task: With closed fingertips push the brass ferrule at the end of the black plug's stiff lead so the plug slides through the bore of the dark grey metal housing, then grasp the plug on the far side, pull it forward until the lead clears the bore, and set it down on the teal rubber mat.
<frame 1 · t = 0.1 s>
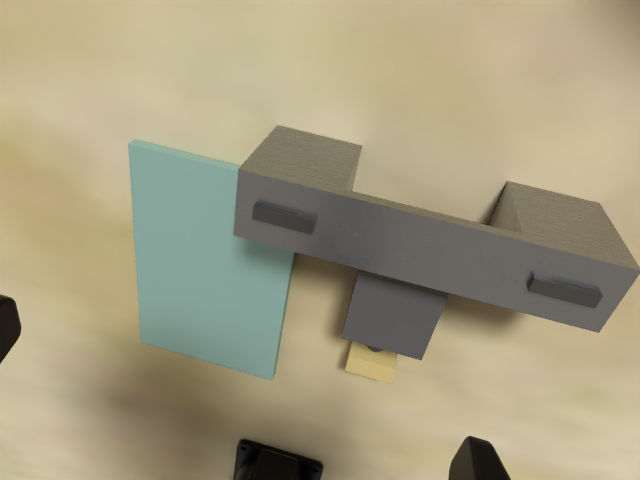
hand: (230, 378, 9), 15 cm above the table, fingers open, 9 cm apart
mat: (213, 271, 27), on the table
plug: (396, 275, 25), on the table
housing: (424, 192, 22), on the table
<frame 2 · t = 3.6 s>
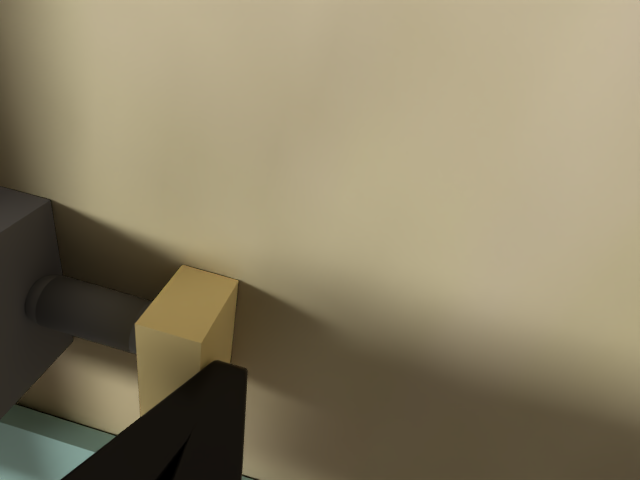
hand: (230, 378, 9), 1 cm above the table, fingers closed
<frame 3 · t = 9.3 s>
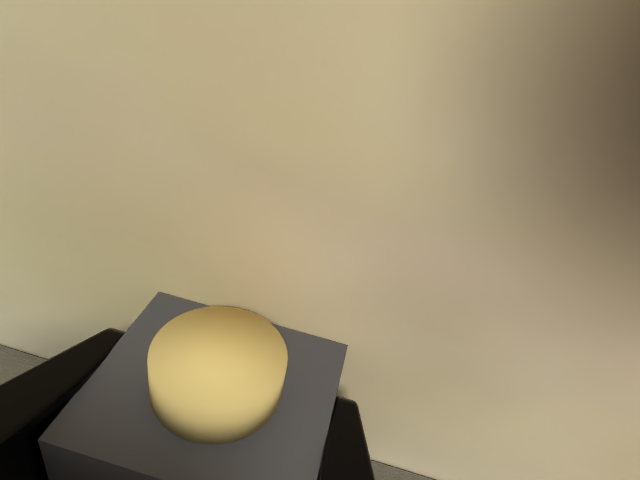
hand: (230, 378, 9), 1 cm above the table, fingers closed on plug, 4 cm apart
plug: (243, 382, 11), on the table, touching gripper
housing: (233, 454, 12), on the table
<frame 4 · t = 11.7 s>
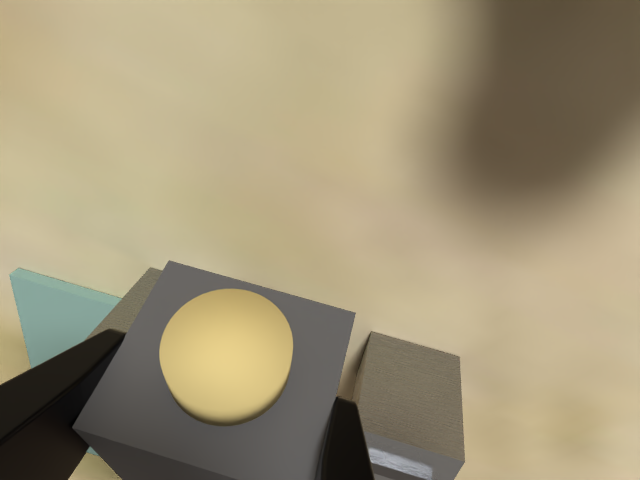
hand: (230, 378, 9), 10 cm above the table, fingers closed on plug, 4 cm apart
mat: (109, 383, 27), on the table
plug: (259, 331, 11), point 8 cm above the table, tilted 18°, touching gripper
housing: (295, 334, 22), on the table
when the fingers open (3 cm above the table, at t = 14.7 s): plug stays where it is, resting on mat.
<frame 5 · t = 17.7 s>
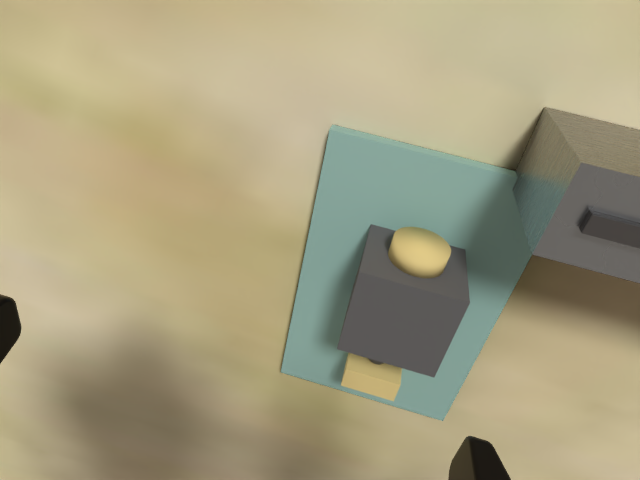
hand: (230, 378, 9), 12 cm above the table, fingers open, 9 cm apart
mat: (396, 291, 22), on the table
plug: (404, 274, 21), point 1 cm above the table, touching mat
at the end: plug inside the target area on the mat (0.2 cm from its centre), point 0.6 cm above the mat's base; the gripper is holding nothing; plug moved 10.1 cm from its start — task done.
